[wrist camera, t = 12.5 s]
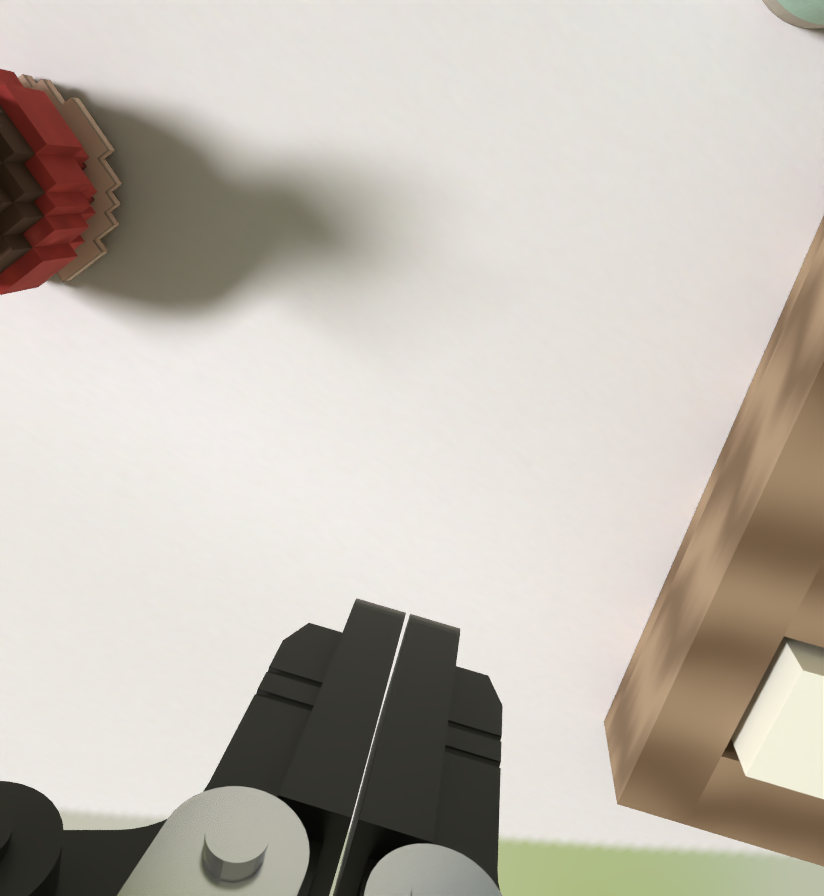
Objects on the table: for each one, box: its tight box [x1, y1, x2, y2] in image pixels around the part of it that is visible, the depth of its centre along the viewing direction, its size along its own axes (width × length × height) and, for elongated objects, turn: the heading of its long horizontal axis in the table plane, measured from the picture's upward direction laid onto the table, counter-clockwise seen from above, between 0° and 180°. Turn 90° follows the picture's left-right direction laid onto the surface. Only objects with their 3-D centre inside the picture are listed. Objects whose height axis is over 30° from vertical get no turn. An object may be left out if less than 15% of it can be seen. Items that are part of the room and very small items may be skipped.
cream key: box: [731, 636, 824, 799], centre depth 34 cm, size 6×6×4 cm
